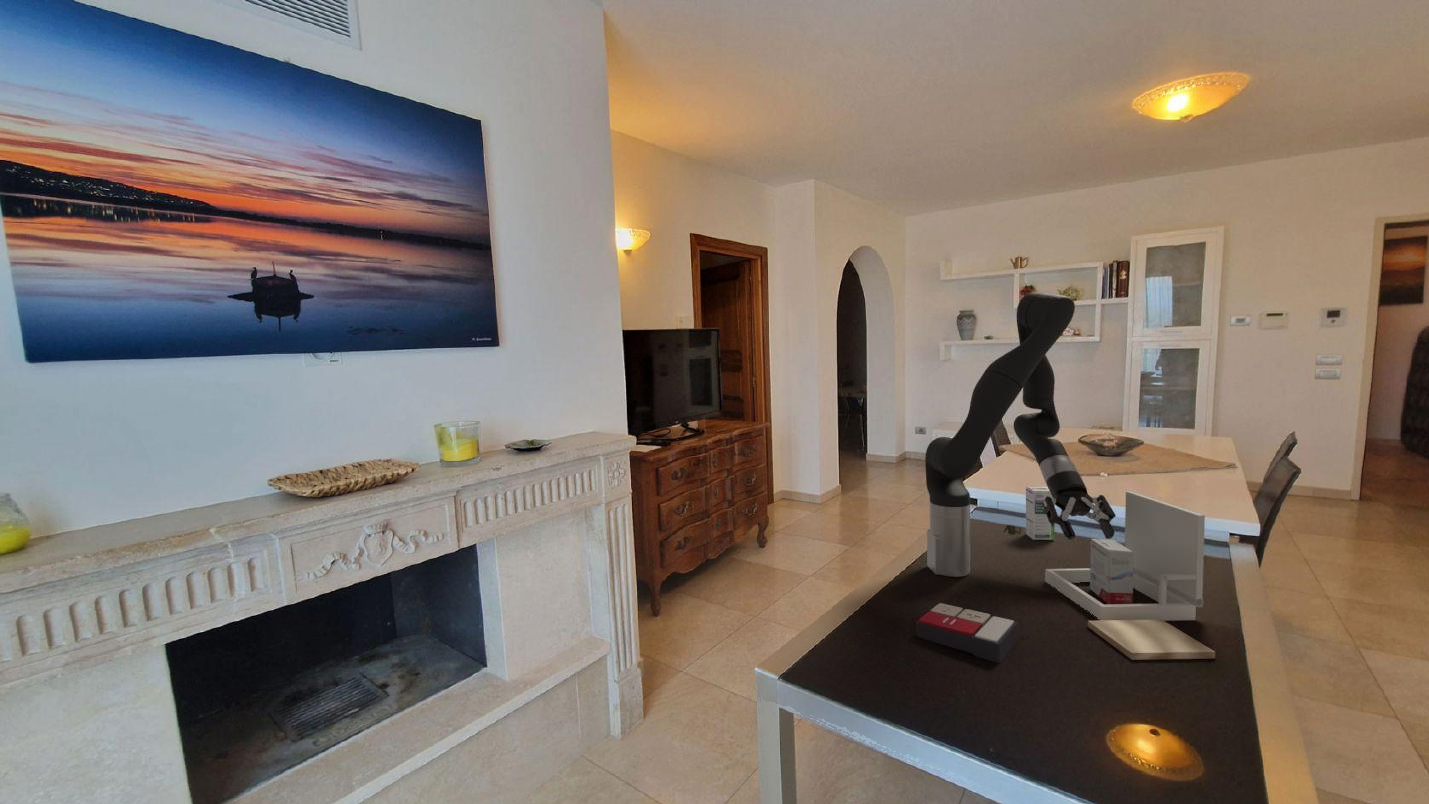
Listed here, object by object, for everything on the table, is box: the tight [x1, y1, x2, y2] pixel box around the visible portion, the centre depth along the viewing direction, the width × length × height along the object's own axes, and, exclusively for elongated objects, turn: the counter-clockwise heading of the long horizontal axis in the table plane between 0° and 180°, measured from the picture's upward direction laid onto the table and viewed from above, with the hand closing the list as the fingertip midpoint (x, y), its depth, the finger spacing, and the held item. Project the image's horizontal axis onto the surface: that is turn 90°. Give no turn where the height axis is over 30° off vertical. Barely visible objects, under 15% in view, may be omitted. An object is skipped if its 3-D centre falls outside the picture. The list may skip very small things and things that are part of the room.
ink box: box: [1089, 538, 1134, 604], centre depth 120 cm, size 9×5×12 cm, turn 168°
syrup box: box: [1025, 486, 1056, 541], centre depth 160 cm, size 6×6×14 cm
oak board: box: [1087, 619, 1216, 661], centre depth 102 cm, size 14×12×1 cm
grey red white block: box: [915, 602, 1019, 664], centre depth 105 cm, size 11×4×15 cm
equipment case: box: [1044, 490, 1206, 622], centre depth 118 cm, size 19×20×21 cm
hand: (1091, 537), depth 126 cm, fingers open, 8 cm apart
